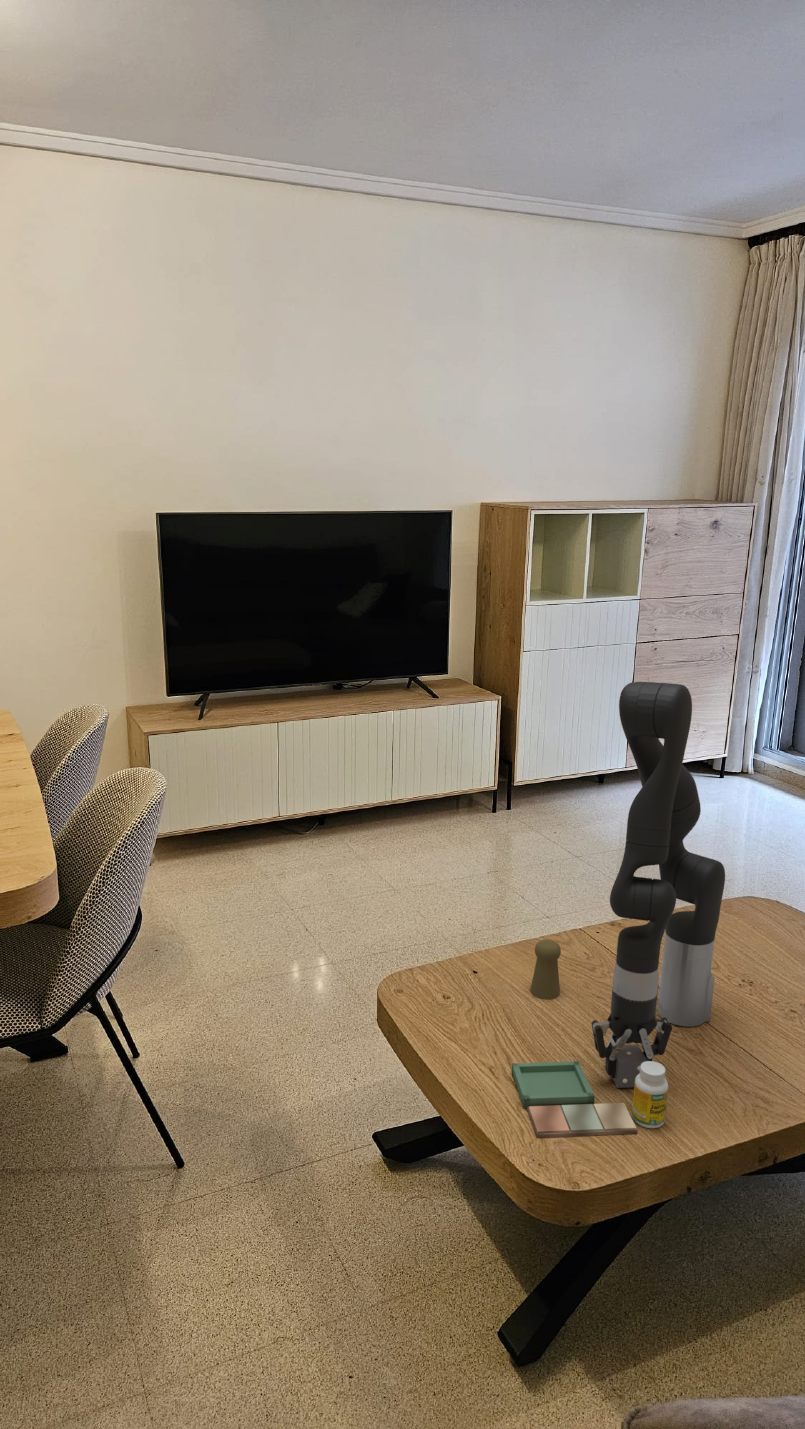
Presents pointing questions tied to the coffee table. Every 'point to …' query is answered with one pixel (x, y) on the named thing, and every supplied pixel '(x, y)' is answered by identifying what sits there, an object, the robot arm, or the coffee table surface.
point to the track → (581, 1120)
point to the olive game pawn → (546, 970)
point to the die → (628, 1065)
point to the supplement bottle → (650, 1095)
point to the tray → (552, 1084)
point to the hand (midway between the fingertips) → (627, 1074)
